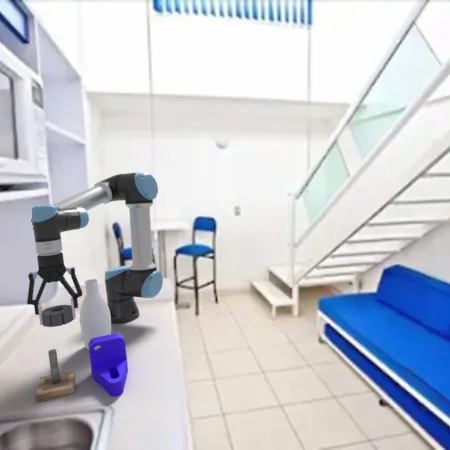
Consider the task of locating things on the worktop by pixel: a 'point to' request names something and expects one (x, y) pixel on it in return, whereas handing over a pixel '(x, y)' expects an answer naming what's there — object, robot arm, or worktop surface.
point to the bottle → (94, 314)
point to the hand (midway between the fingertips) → (58, 320)
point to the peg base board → (55, 381)
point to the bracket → (109, 363)
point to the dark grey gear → (57, 315)
